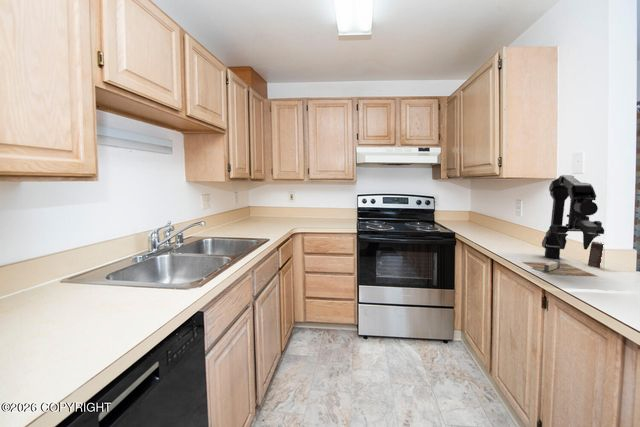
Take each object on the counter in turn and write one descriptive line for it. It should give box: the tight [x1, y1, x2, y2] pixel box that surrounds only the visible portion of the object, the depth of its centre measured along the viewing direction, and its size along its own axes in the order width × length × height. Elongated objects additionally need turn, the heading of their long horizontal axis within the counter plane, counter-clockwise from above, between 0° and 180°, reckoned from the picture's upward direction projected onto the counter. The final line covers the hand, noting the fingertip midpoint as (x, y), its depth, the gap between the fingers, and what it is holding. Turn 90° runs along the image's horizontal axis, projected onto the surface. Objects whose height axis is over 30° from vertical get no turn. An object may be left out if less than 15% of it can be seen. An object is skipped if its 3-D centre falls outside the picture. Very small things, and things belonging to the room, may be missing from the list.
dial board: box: [521, 261, 599, 278], centre depth 139 cm, size 20×21×1 cm
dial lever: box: [544, 259, 561, 271], centre depth 137 cm, size 13×3×3 cm, turn 124°
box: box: [587, 241, 605, 269], centre depth 145 cm, size 6×4×12 cm
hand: (574, 249), depth 133 cm, fingers open, 9 cm apart
